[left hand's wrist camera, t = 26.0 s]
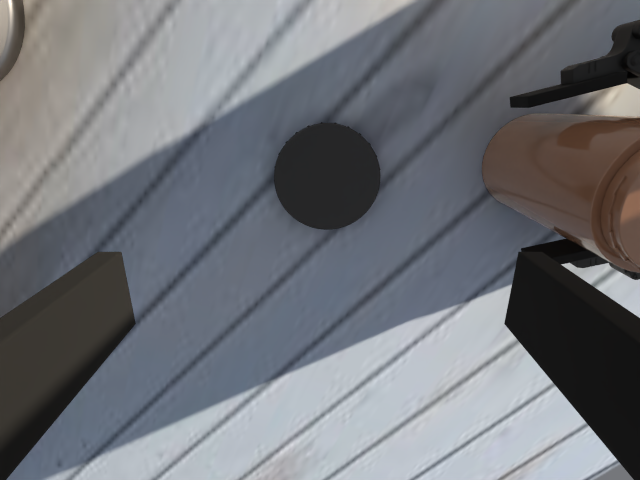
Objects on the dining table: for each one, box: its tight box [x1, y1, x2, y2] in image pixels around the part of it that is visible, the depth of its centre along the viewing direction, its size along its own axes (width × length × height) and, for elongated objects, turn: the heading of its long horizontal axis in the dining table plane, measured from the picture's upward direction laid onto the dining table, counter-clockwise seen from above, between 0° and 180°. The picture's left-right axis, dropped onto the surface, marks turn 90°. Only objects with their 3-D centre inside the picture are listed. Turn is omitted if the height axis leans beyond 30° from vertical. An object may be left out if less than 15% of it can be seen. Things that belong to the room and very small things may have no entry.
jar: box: [482, 113, 640, 273], centre depth 27 cm, size 9×9×17 cm
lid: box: [274, 122, 380, 229], centre depth 35 cm, size 10×10×2 cm
